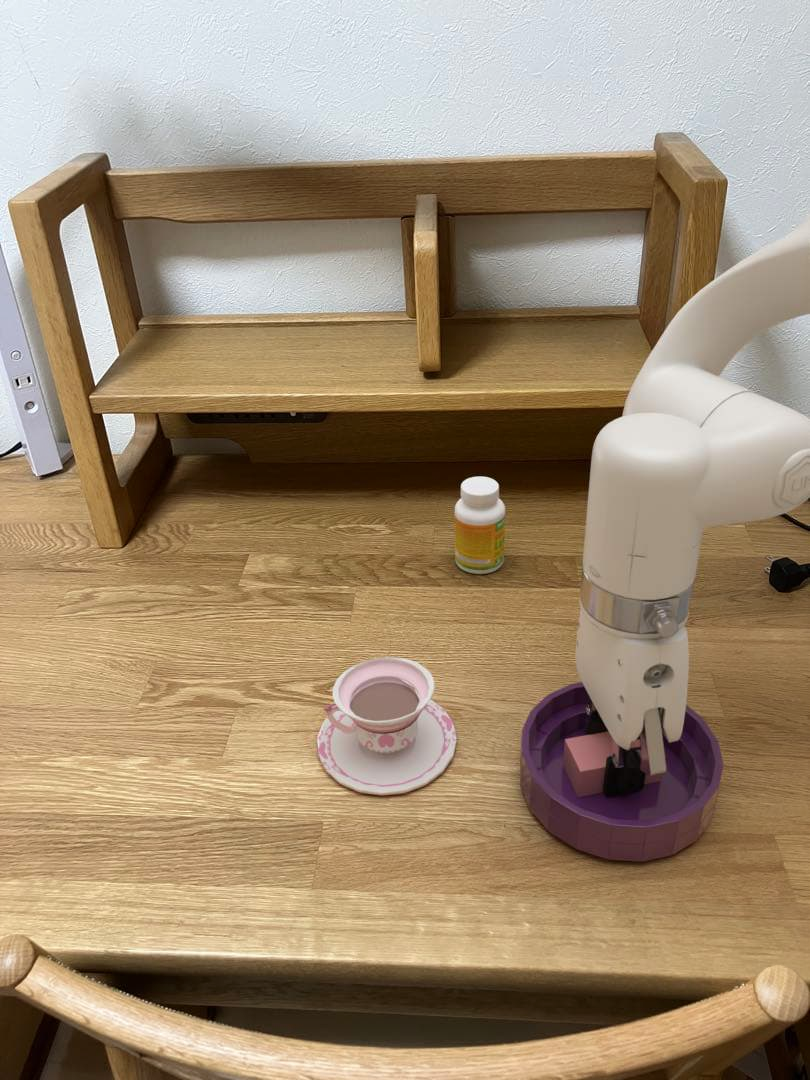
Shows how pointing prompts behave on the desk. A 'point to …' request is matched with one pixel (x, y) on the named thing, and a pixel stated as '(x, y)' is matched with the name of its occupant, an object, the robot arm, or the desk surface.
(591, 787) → the eraser
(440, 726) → the teacup
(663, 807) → the bowl
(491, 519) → the supplement bottle
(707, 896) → the desk surface
